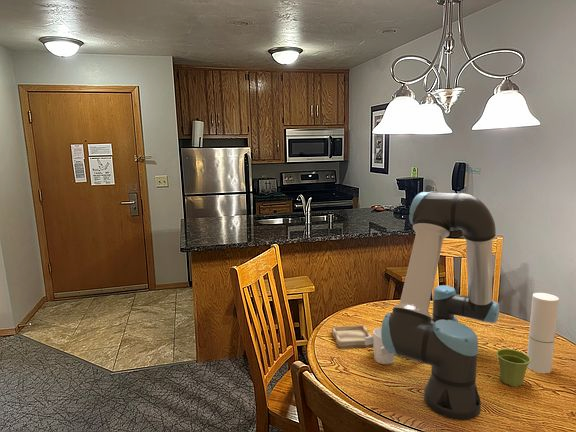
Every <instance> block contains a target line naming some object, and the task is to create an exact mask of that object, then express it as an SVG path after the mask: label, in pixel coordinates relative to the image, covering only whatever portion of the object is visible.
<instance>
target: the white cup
mask: <svg viewBox="0 0 576 432" xmlns="http://www.w3.org/2000/svg"><path fill="white" fill-rule="evenodd" d="M381 329H382V327H378V328H374V329H373V330H372V335H373V359H374V361H375V362H376V363H378V364H383V365H390V364H393V363H394V360H395V354H394V353H390V354H387V355H384V356H381V355H380V348H381V347H384V346H383V343H382V337H381Z"/></svg>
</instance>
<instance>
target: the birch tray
mask: <svg viewBox="0 0 576 432" xmlns="http://www.w3.org/2000/svg"><path fill="white" fill-rule="evenodd" d="M331 333H332V336H333V338H334V340H335V342H336V345H337V346H338V348H339V350H344V349H358V348H369V347H370V348H371V347H373V344H370V345H365V337H368V336H372V335H371V333H370V332H369V330H368V329H367V327H366V325H365V324H361V325H360V324H359V325H357V324H356V325H343V326H341V325H339V326H331Z"/></svg>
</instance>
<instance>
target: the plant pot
mask: <svg viewBox="0 0 576 432" xmlns="http://www.w3.org/2000/svg"><path fill="white" fill-rule="evenodd" d="M495 353H496V357H497V360H498V366H499V378H500V381H501V382H502V383H504V384H505V385H506V384H507V385H509V386H510V387H516V388H517V387H521V386H522V385H523V384H524V379H525V377H526V376H525V375H526V371H527V369H528V368H527V366H528V364H529V363H530V362H531V358H530V357H529V356H528V355H527V354H526V353H524V352H522V351H519V350H516V349H511V348H501V349H498V350H497V351H496V352H495Z"/></svg>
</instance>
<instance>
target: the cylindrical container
mask: <svg viewBox="0 0 576 432" xmlns="http://www.w3.org/2000/svg"><path fill="white" fill-rule="evenodd" d="M531 298H532V299H531V307H530V308H531V309H530V319H529V320H530V321H529V331H528V342H527V351H526V353H527V354H526V355H528V356H529V357H530V358H531V362H530V363H529V364H528V366H527V367H528V368H529V369H528V368H527V369H528V370H530V369H531V370H533V371H532V372H534V371H536V372H540V373H549V374H551V373H552V371H551V370H553V369H552V368H553V359H554V350H555V340H556V331H557V322H558V313H559V312H558V311H559V301H560V299H559V297H558V296H556V295H554V294H550V293H546V292H534V293H533V294H532V297H531ZM531 370H530V371H531ZM536 372H535V373H536ZM550 372H551V373H550ZM540 373H539V374H540Z"/></svg>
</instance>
